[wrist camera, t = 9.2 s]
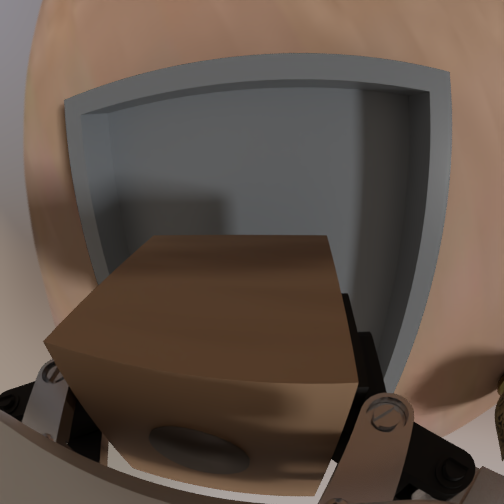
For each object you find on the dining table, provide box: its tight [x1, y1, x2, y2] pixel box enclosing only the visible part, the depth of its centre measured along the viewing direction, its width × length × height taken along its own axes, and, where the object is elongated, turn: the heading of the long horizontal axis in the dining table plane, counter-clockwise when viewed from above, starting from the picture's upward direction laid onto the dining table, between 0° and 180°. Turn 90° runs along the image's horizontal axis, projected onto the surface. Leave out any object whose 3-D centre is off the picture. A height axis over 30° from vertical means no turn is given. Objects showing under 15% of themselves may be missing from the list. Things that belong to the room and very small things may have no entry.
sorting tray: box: [64, 53, 452, 393], centre depth 13 cm, size 18×16×3 cm
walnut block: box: [43, 235, 359, 496], centre depth 8 cm, size 6×6×6 cm
